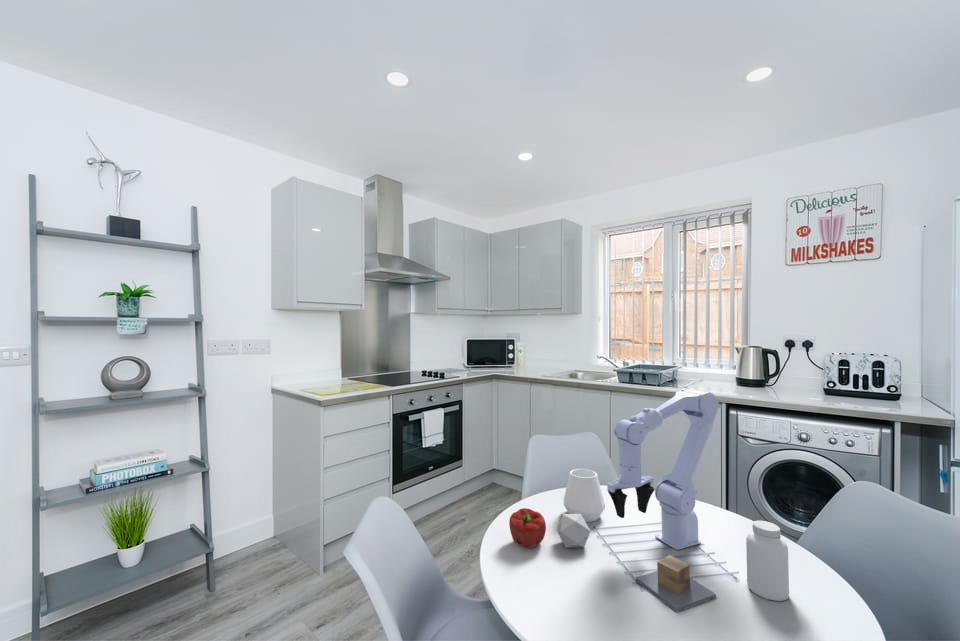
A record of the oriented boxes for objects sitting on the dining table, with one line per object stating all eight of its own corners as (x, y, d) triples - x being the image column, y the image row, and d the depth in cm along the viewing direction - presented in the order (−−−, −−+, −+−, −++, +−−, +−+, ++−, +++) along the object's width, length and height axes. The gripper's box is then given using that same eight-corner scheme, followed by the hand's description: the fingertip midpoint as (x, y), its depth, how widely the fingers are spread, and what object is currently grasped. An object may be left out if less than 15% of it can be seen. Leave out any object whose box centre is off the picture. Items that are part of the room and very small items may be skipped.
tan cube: (669, 576, 98) (669, 555, 99) (690, 586, 94) (689, 564, 94) (657, 583, 96) (657, 561, 96) (678, 594, 91) (677, 571, 92)
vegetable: (548, 555, 110) (547, 518, 110) (510, 555, 110) (509, 518, 110) (543, 535, 120) (543, 501, 121) (509, 535, 121) (508, 501, 121)
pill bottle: (791, 607, 88) (789, 536, 89) (747, 594, 92) (745, 528, 93) (787, 587, 95) (785, 522, 95) (746, 576, 99) (744, 514, 100)
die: (583, 559, 109) (599, 523, 112) (554, 540, 110) (569, 505, 114) (576, 554, 117) (591, 521, 120) (548, 536, 118) (563, 504, 122)
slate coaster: (673, 569, 103) (672, 566, 103) (716, 597, 91) (716, 593, 91) (635, 580, 98) (635, 577, 98) (676, 611, 87) (676, 608, 87)
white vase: (611, 525, 127) (610, 480, 127) (568, 525, 127) (567, 480, 127) (599, 506, 140) (598, 466, 140) (560, 507, 140) (559, 466, 141)
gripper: (639, 457, 119) (641, 503, 118) (599, 463, 113) (600, 512, 113) (658, 464, 112) (660, 513, 112) (616, 471, 107) (618, 523, 106)
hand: (631, 514), depth 112 cm, fingers open, 7 cm apart
